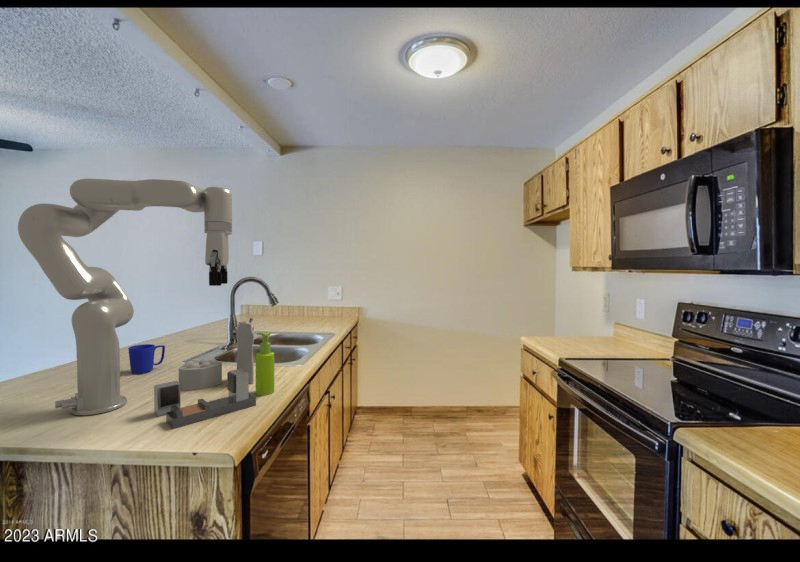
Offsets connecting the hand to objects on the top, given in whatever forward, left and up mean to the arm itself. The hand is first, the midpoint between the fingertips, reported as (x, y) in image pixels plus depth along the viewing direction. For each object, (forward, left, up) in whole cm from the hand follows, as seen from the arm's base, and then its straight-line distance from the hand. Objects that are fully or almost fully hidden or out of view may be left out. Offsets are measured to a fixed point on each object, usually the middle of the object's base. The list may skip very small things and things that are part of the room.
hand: (218, 284), depth 108 cm
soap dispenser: (+13, -2, -37) cm, 39 cm away
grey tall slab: (+13, +13, -37) cm, 41 cm away
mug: (-9, +50, -37) cm, 62 cm away
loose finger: (-14, +2, -37) cm, 39 cm away
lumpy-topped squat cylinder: (0, +20, -37) cm, 42 cm away
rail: (-5, -8, -36) cm, 38 cm away
